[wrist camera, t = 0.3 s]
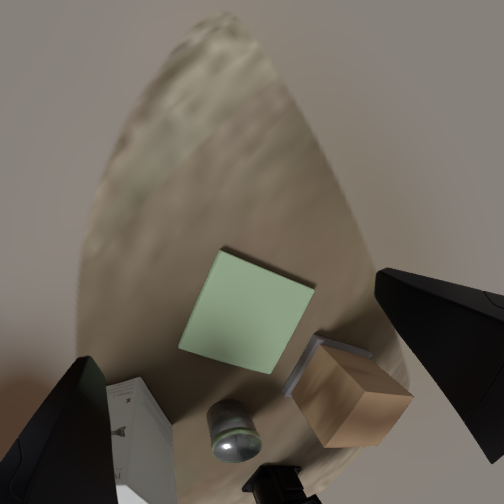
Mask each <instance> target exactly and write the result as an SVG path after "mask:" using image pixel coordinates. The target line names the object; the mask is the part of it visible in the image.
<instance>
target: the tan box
mask: <svg viewBox="0 0 504 504" xmlns="http://www.w3.org/2000/svg"><path fill="white" fill-rule="evenodd" d="M372 356H373V353H371V352H370V351H369V350H366V349H362V348H359V347H355V346H352V345H348V344H345V343H341V342H338V341H335V340H331V339H328V338H325V337H322V336H318V335H315V334H313V336H312V338H311V340H310V341H309V343H308V345H307V347H306V349H305V350H304V352H303V354H302V356H301V358H300V359H299V361H298V363H297V365H296V366H295V368H294V370H293V371H292V373H291V375H290V377H289V378H288V380H287V382H286V383H285V385H284V387H283V388H282V390H281V392H282V394H283V396H284V397H288V398H293V399H294V400H295V402H296V404H297V405H298V407H299V409H300V410H301V412H302V413H303V415H304V417H305V418H306V420H307V422H308V423H309V425H310V426H311V428H312V430H313V431H314V433H315V434H316V436H317V437H318V439H319V441H320V442H321V444H322V445H323V447H324V448H341V447H365V446H377V445H379V444H380V442H381V441H382V440H383V438H384V437H385V436H386V435H387V433H388V432H389V431H390V430H391V428H392V427H393V426H394V425H395V423H396V422H397V420H398V419H399V418H400V416H401V415H402V413H403V412H404V411H405V409H406V408H407V407H408V405H409V404H410V402H411V401H412V399H413V398H414V396H413V395H412V394H411V393H409V392H408V391H407V390H406V389H405V388H404V387H402V386H401V385H400V384H399V383H398V382H397V381H395V380H394V379H393V378H392V377H391V376H389V375H388V374H387V373H386V372H385V371H384V370H382V369H381V368H380V367H379V366H378V365H377V364H375V363H374V362H373V361H372V360H371V358H372Z"/></svg>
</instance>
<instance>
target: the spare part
mask: <svg viewBox="0 0 504 504" xmlns="http://www.w3.org/2000/svg"><path fill="white" fill-rule="evenodd" d="M207 422H208V427H209V432H210V437H211V448H212V453H213V455H214V457H215V458H217V459H218V460H220V461H223V462H227V463H238V462H243V461H246V460H249V459H251V458H253V457H254V456H256V455H257V454H258V453H259V452H260V450H261V449H262V440H261V438H260V436H259V434H258V432H257V431H256V428H255V426H254V423H253V420H252V418H251V415H250V412H249V410H248V407H247V406H246V405H245V404H244V403H242V402H240V401H237V400H223V401H220V402H217V403H216V404H214V405H212V406H211V407H210V408H209V410H208V412H207Z"/></svg>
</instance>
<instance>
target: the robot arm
mask: <svg viewBox="0 0 504 504" xmlns="http://www.w3.org/2000/svg"><path fill="white" fill-rule="evenodd" d="M374 295H375V298H376V300H377V302H378V303H379V305H380V306H381V308H382V309H383V311H384V312H385V314H386V315H387V317H388V318H389V320H390V321H391V323H392V325H393V326H394V328H395V329H396V331H397V332H398V334H399V335H400V336H401V338H402V339H403V340H404V341H405V343H406V344H407V345H408V346H409V348H410V349H411V350H412V352H413V353H414V354H415V355H416V357H417V358H418V359H419V361H420V362H421V363H422V365H423V366H424V367H425V369H426V370H427V371H428V373H429V374H430V375H431V377H432V378H433V379H434V381H435V382H436V383H437V385H438V386H439V387H440V389H441V390H442V391H443V393H444V394H445V396H446V397H447V399H448V400H449V401H450V403H451V404H452V406H453V407H454V408H455V410H456V411H457V413H458V414H459V416H460V417H461V419H462V420H463V421H464V423H465V425H466V426H467V427H468V429H469V431H470V432H471V434H472V435H473V437H474V438H475V440H476V441H477V443H478V444H479V446H480V448H481V449H482V451H483V452H484V454H485V455H486V457H487V459H488V460H489V462H490V463H491V464H493V463H494V462H496V461H497V460H498V459H499V458H500V457H502V456H503V455H504V296H503V295H499V294H495V293H491V292H487V291H481V290H479V289H474V288H471V287H467V286H463V285H458V284H454V283H450V282H446V281H442V280H438V279H434V278H430V277H426V276H422V275H417V274H413V273H409V272H405V271H401V270H396V269H392V268H385V269H382V270H379V271H378V272H377V273H376V278H375V289H374ZM301 470H302V468H301V467H296V466H261V467H259V469H258V470H257V471H256V472H255V473H254V475H253V476H252V477H251V478H250V479H249V481H248V482H247V483H246V484H245V485H244V486H243V488H242V492H253V495H254V498H255V501H256V504H322V503H321V501H320V500H319V498H318V497H317V495H316V494H314V495H311V496H310V497H308V498H307V497H306V495H305V493H304V491H303V489H304V487H303V486H302V484H301V482H300V480H299V478H298V476H297V475H298V474H299V473H300V472H301ZM0 504H119V503H118V497H117V490H116V482H115V474H114V464H113V452H112V437H111V422H110V415H109V407H108V399H107V391H106V381H105V377H104V375H103V373H102V371H101V370H100V368H99V367H98V366H97V364H96V363H95V361H94V360H93V358H92V357H91V356H83V357H79V358H77V359H76V360H75V362H74V363H73V364H72V365H71V367H70V368H69V369H68V370H67V372H66V373H65V374H64V375H63V377H62V378H61V379H60V380H59V382H58V383H57V384H56V386H55V387H54V388H53V390H52V391H51V392H50V394H49V395H48V396H47V397H46V399H45V400H44V402H43V403H42V404H41V405H40V407H39V408H38V410H37V411H36V412H35V414H34V415H33V416H32V418H31V419H30V421H29V422H28V423H27V425H26V426H25V428H24V429H23V430H22V432H21V433H20V435H19V436H18V438H17V439H16V441H15V442H14V443H13V445H12V446H11V448H10V449H9V451H8V452H7V454H6V455H5V457H4V458H3V459H2V461H1V462H0Z"/></svg>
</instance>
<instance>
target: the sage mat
mask: <svg viewBox="0 0 504 504" xmlns="http://www.w3.org/2000/svg"><path fill="white" fill-rule="evenodd" d="M314 291H315V290H314V289H312V288H310V287H308V286H305V285H303V284H300V283H298V282H296V281H293V280H291V279H288V278H286V277H284V276H281V275H279V274H276V273H274V272H272V271H269V270H267V269H265V268H262V267H260V266H257V265H255V264H253V263H250V262H248V261H246V260H243V259H241V258H238V257H236V256H234V255H231V254H229V253H227V252H224V251H222V250H219V252H218V254H217V256H216V258H215V261H214V263H213V265H212V267H211V270H210V272H209V274H208V277H207V279H206V281H205V283H204V286H203V288H202V290H201V293H200V295H199V297H198V300H197V302H196V304H195V306H194V309H193V311H192V314H191V316H190V318H189V321H188V323H187V325H186V328H185V330H184V332H183V335H182V337H181V340H180V342H179V344H178V348H180V349H183V350H186V351H189V352H192V353H195V354H198V355H201V356H204V357H208V358H211V359H214V360H218V361H221V362H225V363H228V364H232V365H236V366H239V367H243V368H247V369H251V370H255V371H259V372H263V373H267V374H271V372H272V370H273V369H274V367H275V365H276V363H277V362H278V360H279V358H280V356H281V354H282V352H283V351H284V349H285V347H286V345H287V343H288V341H289V340H290V338H291V336H292V334H293V332H294V330H295V328H296V326H297V324H298V322H299V321H300V319H301V317H302V315H303V313H304V311H305V309H306V307H307V305H308V303H309V301H310V299H311V297H312V295H313V293H314Z"/></svg>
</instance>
